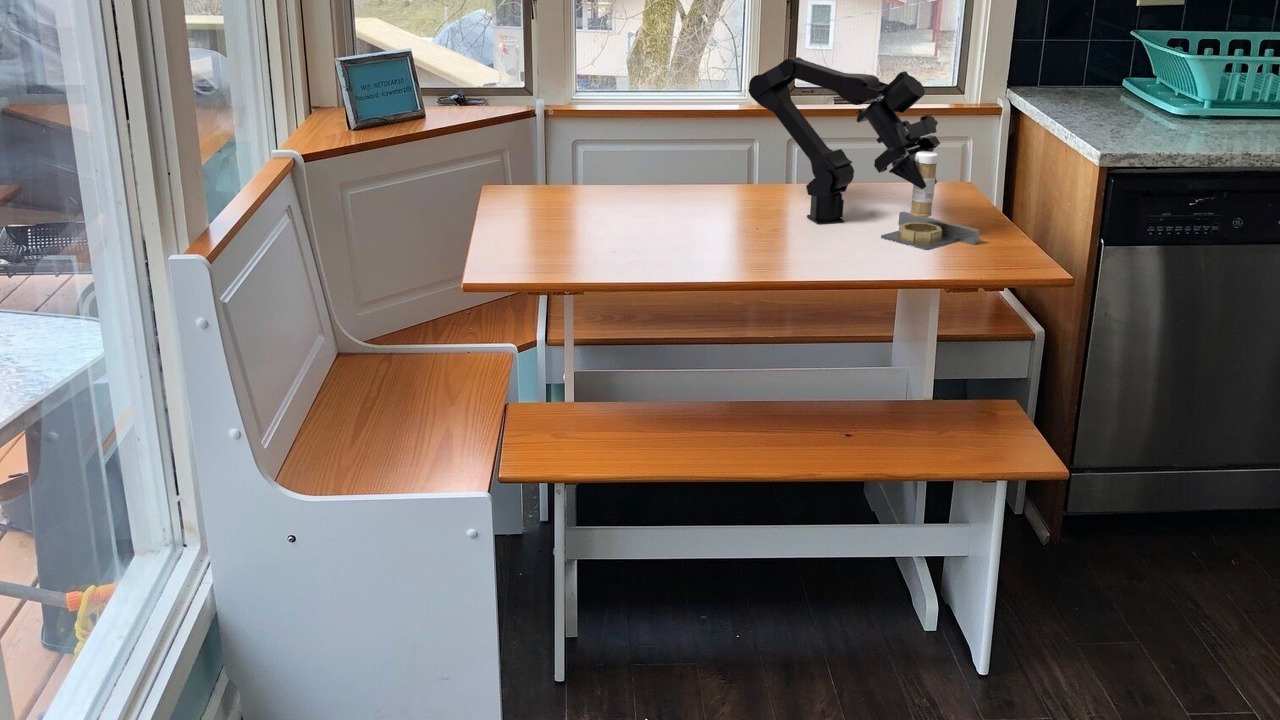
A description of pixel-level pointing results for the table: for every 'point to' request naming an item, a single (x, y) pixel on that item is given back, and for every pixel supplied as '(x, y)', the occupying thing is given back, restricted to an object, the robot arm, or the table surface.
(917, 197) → the sprinkles bottle
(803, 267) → the table surface
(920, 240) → the plate
